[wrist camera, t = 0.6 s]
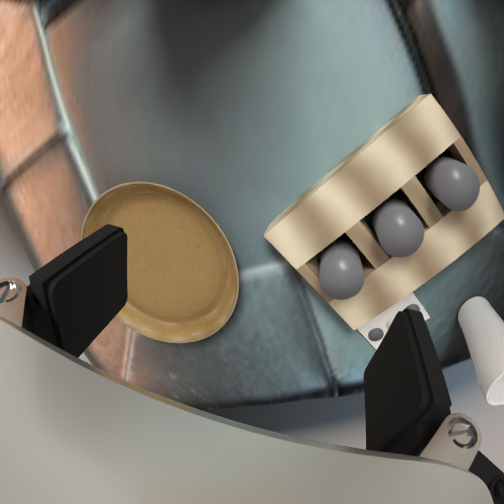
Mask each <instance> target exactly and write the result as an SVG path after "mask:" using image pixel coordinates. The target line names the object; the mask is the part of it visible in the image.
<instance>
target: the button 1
mask: <svg viewBox="0 0 504 504" xmlns="http://www.w3.org/2000/svg"><path fill="white" fill-rule="evenodd" d="M319 284H320V287H321V289H322V291H323V292H324V293H325V294H326V295H327V296H329V297H331V298H333V299H338V300H345V299H349V298H351V297H353V296H355V295H356V294H358V293H359V292H360V290H361V289H362V287H363V285H364V272H363V268H362V263H361V258H360V254H359V251H358V249H357V248H356V247H355V246H354V245H353V244H352V243H350V242H347V241H343V240H338V241H334V242H332V243H330V244H329V245H328V246H327V247H325V248H324V249H323V250H322V252H321V255H320V271H319Z"/></svg>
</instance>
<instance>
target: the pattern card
mask: <svg viewBox="0 0 504 504" xmlns="http://www.w3.org/2000/svg"><path fill="white" fill-rule="evenodd" d="M405 308H408V309H412V310H416V311H420V312H422V314H423V317H424V319H425V321H426V320H427V319H429V318H430V316H429V314H428V313H427V312H426V310H425V309H424V307H423V306H422V304H421V303H420V302H419V300H418V299H417V297H416V296H415V295H414V293H413V292H412V293H410V294H409V295H407V296H406V297H404V298H403V299H401V300H400V301H399V302H397V303H396V304H394V305H393V306H391V307H390V308H388V309H387V310H385V311H384V312H382V313H381V314H379V315H378V316H376V317H375V318H373V319H372V320H370V321H368V322H367V323H365V324H364V325H362V326H361V327H359V328H357V329H358V330H359V332H360V333H361V334H362V335H363V336H364V337H365V338H366V339H367V340H368V341H369V342H370V344H371V345H372V346H373V347H374V348H375V349H376V350H377V349H378V347H379V345H380V343H381V342H382V340H383V338H384V336H385V334H386V333H387V331H388V329H389V327H390V325H391V323H392V321H393V320H394V318H395V316H396V314H397V312H398V311H403V310H404V309H405Z"/></svg>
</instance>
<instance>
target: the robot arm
mask: <svg viewBox="0 0 504 504" xmlns="http://www.w3.org/2000/svg"><path fill="white" fill-rule="evenodd" d="M127 240H128V238H127V234H126V233H124V229H123V228H121V227H118V226H114V225H111V224H106V225H105V226H103V227H101V228H100V229H98V230H97V231H95V232H94V233H92V234H90V235H89V236H87V237H86V238H84V239H83V240H81V241H80V242H78V243H77V244H75V245H74V246H72V247H71V248H69V249H68V250H66V251H65V252H63V253H62V254H60V255H59V256H57V257H56V258H54V259H53V260H52V261H50V262H49V263H47V264H46V265H44V266H43V267H42V268H40V269H39V270H37V271H36V272H35V273H33V274H32V275H31V276H29V279H30V285H29V286H27V287H26V284H25V283H24V282H23V281H22V280H20V279H17V278H6V279H1V280H0V504H504V473H503V472H502V471H501V470H500V469H499V468H497V467H496V466H495V465H494V464H493V463H492V462H491V461H490V460H489V459H488V458H486V457H485V456H484V455H483V454H482V453H481V452H480V451H479V450H478V449H479V447H480V444H481V441H482V440H481V433H480V430H479V427H478V426H477V424H476V423H475V422H474V421H473V420H472V419H471V418H470V417H468V416H467V415H464V414H461V413H453V414H451V412H450V406H451V405H452V404H451V400H450V397H449V393H448V389H447V386H446V382H445V379H444V376H443V373H442V369H441V366H440V363H439V360H438V357H437V354H436V351H435V348H434V345H433V342H432V339H431V336H430V333H429V330H428V328H427V325H426V322H425V319H424V317H423V314H422V312H420V311H416V310H412V309H408V308H405V309H404V310H403V311H398V312H397V314H396V316H395V318H394V320H393V321H392V323H391V325H390V327H389V329H388V331H387V333H386V334H385V336H384V338H383V340H382V342H381V343H380V345H379V347H378V349H377V350H376V352H375V354H374V355H373V357H372V359H371V361H370V362H369V364H368V366H367V367H366V369H365V373H364V391H365V411H366V412H365V413H366V450H364V449H358V448H352V447H346V446H340V445H334V444H328V443H323V442H317V441H312V440H308V439H303V438H298V437H293V436H289V435H285V434H280V433H276V432H273V431H269V430H265V429H260V428H257V427H253V426H249V425H246V424H243V423H239V422H236V421H232V420H229V419H226V418H223V417H219V416H216V415H213V414H210V413H207V412H204V411H201V410H198V409H195V408H192V407H190V406H187V405H184V404H181V403H179V402H176V401H173V400H171V399H168V398H165V397H163V396H160V395H158V394H155V393H153V392H150V391H148V390H146V389H143V388H141V387H138V386H136V385H134V384H131V383H129V382H127V381H125V380H122V379H120V378H118V377H116V376H113V375H111V374H109V373H107V372H105V371H103V370H101V369H99V368H97V367H95V366H93V365H91V364H88V363H86V362H85V361H82V360H81V359H79V358H78V357H79V356H80V355H81V354H82V353H83V352H84V351H85V349H86V348H87V347H88V346H89V345H90V344H91V343H92V342H93V340H94V339H95V338H96V337H97V336H98V335H99V334H100V333H101V331H102V330H103V329H104V328H105V327H106V326H107V325H108V324H109V323H110V321H111V320H112V319H113V318H114V317H115V316H116V315H117V314H118V313H119V312H120V310H121V309H122V308H123V307H124V306H125V304H126V302H127V299H128V286H127Z"/></svg>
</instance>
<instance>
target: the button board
mask: <svg viewBox="0 0 504 504" xmlns="http://www.w3.org/2000/svg"><path fill="white" fill-rule="evenodd" d="M446 149H447V150H448V151H449V153H450V154H451V156H452V157H453V159H454V160H457V161H459V162H461V163H463V164H466V165H468V166H470V167H471V168H472V169H473V170H474V171H475V172H476V174H477V176H478V178H479V182H480V191H479V195H478V198H477V200H476V202H475V203H474V204H473V205H472V206H471V207H470V208H469V209H467V210H464V211H453V210H451V209H449V208H448V207H447V206H445V205H444V204H443V203H442V202H441V201H440V200H439V201H438V202H437V203H436V204H434V203H433V201H432V200H431V198H430V197H429V195H428V194H427V192H426V191H425V189H424V188H423V186H422V185H421V184H420V182H419V181H418V179H417V178H416V177H415V175H416V174H417V173H419V172H420V171H421V170H422V169H423V168H425V167H426V166H427V165H428V164H429V163H430V162H432V161H433V160H434V159H435V158H436V157H438V156H439V155H440V154H441V153H442V152H443V151H445V150H446ZM399 188H400V189H401V190H402V192H403V193H404V194H405V196H406V197H407V199H408V200H409V201H410V203H411V204H412V205H413V207H414V208H415V210H416V211H417V213H418V214H419V215H420V217H419V219H420V221H421V222H422V224H423V227H424V239H423V242H422V244H421V246H420V247H419V249H418V250H417V251H416V252H415V253H413V254H411V255H409V256H407V257H401V258H400V257H394V256H391V255H389V254H387V253H386V252H385V251H384V250H383V248H382V246H381V244H380V242H379V239H378V237H377V235H376V234H375V233H374V231H373V230H372V229H371V228H370V226H369V225H368V224H367V223H366V222H365V220H364V219H363V218H364V217H365V216H366V215H367V214H369V213H370V212H371V211H372V210H374V209H375V208H376V207H377V206H378V205H380V204H381V203H382V202H383V201H385V200H386V199H387V198H388V197H390V196H391V195H392V194H393V193H394V192H396V191H397V190H398V189H399ZM503 219H504V212H503V210H502V207H501V205H500V203H499V201H498V199H497V197H496V195H495V193H494V191H493V190H492V188H491V186H490V184H489V182H488V180H487V178H486V177H485V175H484V173H483V171H482V169H481V168H480V166H479V164H478V163H477V161H476V159H475V158H474V156H473V154H472V153H471V151H470V149H469V148H468V146H467V145H466V143H465V141H464V140H463V138H462V137H461V135H460V134H459V132H458V131H457V129H456V128H455V126H454V125H453V123H452V122H451V121H450V119H449V118H448V116H447V115H446V113H445V112H444V111H443V109H442V108H441V107H440V105H439V104H438V103H437V101H436V100H435V99H434V97H433V96H432V95H431V94H426V95H419V96H418V97H417V98H416V99H414V100H413V101H412V102H411V103H410V104H408V105H407V106H406V107H405V108H404V109H403V110H401V111H400V112H399V113H398V114H397V115H395V116H394V117H393V118H392V119H391V120H390V121H388V122H387V123H386V124H385V125H384V126H382V127H381V128H380V129H379V130H378V131H377V132H375V133H374V134H373V135H372V136H371V137H369V138H368V139H367V140H366V141H365V142H364V143H362V144H361V145H360V146H359V147H358V148H356V149H355V150H354V151H353V152H352V153H351V154H349V155H348V156H347V157H346V158H345V159H344V160H342V161H341V162H340V163H339V164H338V165H337V166H335V167H334V168H333V169H332V170H331V171H330V172H328V173H327V174H326V175H325V176H324V177H323V178H321V179H320V180H319V181H318V182H317V183H316V184H314V185H313V186H312V187H311V188H310V189H309V190H307V191H306V192H305V193H304V194H303V195H302V196H300V197H299V198H298V199H297V200H296V201H295V202H293V203H292V204H291V205H290V206H289V207H288V208H287V209H285V210H284V211H283V212H282V213H281V214H280V215H278V216H277V217H276V218H275V219H274V220H273V221H272V222H270V223H269V225H268V227H267V230H266V232H265V234H264V237H265V238H266V239H267V240H268V241H269V242H270V243H271V244H272V245H273V246H274V247H275V248H276V249H277V250H278V251H279V252H280V253H281V254H282V255H283V256H284V257H285V258H286V259H287V261H288V262H289V263H290V264H291V265H292V266H293V267H294V268H295V269H296V270H297V271H298V272H299V273H300V274H301V275H302V276H303V277H304V278H305V279H306V280H307V281H308V282H309V283H310V285H311V286H312V287H313V288H314V289H315V290H316V291H317V292H318V293H319V294H320V295H321V296H322V297H323V298H324V299H325V300H326V301H327V302H328V303H329V305H330V306H331V307H332V308H333V309H334V310H335V311H336V312H337V313H338V314H339V315H340V316H341V317H342V318H343V319H344V320H345V322H346V323H347V324H348V325H349V326H350V327H351V328H352V329H353V330H356V329H357V328H359V327H361V326H362V325H364V324H365V323H367V322H368V321H370V320H372V319H373V318H375V317H376V316H378V315H379V314H381V313H382V312H384V311H385V310H387V309H388V308H390V307H391V306H393V305H394V304H396V303H397V302H399V301H400V300H401V299H403V298H404V297H406V296H407V295H409V294H410V293H412V292H413V291H414V290H416V289H417V288H419V287H420V286H421V285H423V284H424V283H425V282H427V281H428V280H429V279H431V278H432V277H434V276H435V275H436V274H438V273H439V272H440V271H442V270H443V269H444V268H445V267H447V266H448V265H449V264H451V263H452V262H453V261H454V260H456V259H457V258H458V257H460V256H461V255H462V254H463V253H465V252H466V251H467V250H468V249H469V248H471V247H472V246H473V245H474V244H475V243H477V242H478V241H479V240H480V239H481V238H483V237H484V236H485V235H486V234H487V233H488V232H490V231H491V230H492V229H493V228H494V227H495V226H497V225H498V224H499V223H500V222H501V221H502V220H503ZM343 233H346V234H347V235H348V236H349V237H350V239H351V240H352V241H353V242H354V243H355V245H356V246H357V247H358V248H359V249H360V251H361V252H362V253H363V254H364V255H365V257H366V259H364V260H363V261H362V262H361V263H362V268H363V272H364V285H363V287H362V289H361V290H360V292H359V293H358V294H356V295H355V296H353V297H351V298H349V299H345V300H338V299H333V298H331V297H329V296H327V295H326V294H325V293H324V292H323V291H322V289H321V287H320V284H319V271H320V262H319V261H318V260H317V259H316V258H315V257H314V256H315V255H316V254H318V253H319V252H320V251H321V250H323V249H324V248H325V247H327V246H328V245H329V244H330V243H332V242H333V241H334V240H336V239H337V238H338V237H339V236H341V235H342V234H343Z"/></svg>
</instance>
